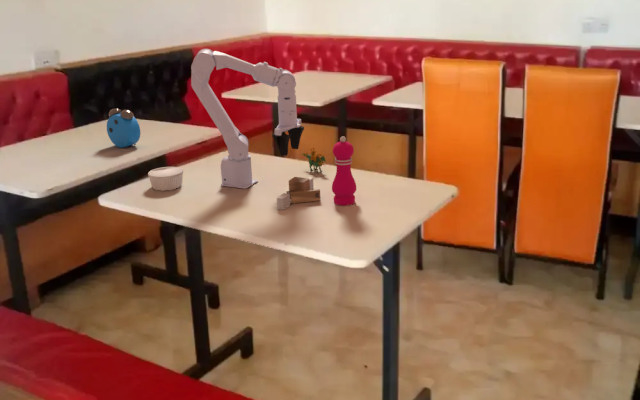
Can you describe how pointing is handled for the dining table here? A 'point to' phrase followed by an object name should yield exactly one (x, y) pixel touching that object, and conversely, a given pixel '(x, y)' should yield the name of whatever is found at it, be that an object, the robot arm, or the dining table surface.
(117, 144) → the alarm clock
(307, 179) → the block
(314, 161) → the figurine
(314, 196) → the door
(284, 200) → the wall frame
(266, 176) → the dining table surface
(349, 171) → the pepper mill
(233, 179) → the robot arm
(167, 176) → the ramekin
